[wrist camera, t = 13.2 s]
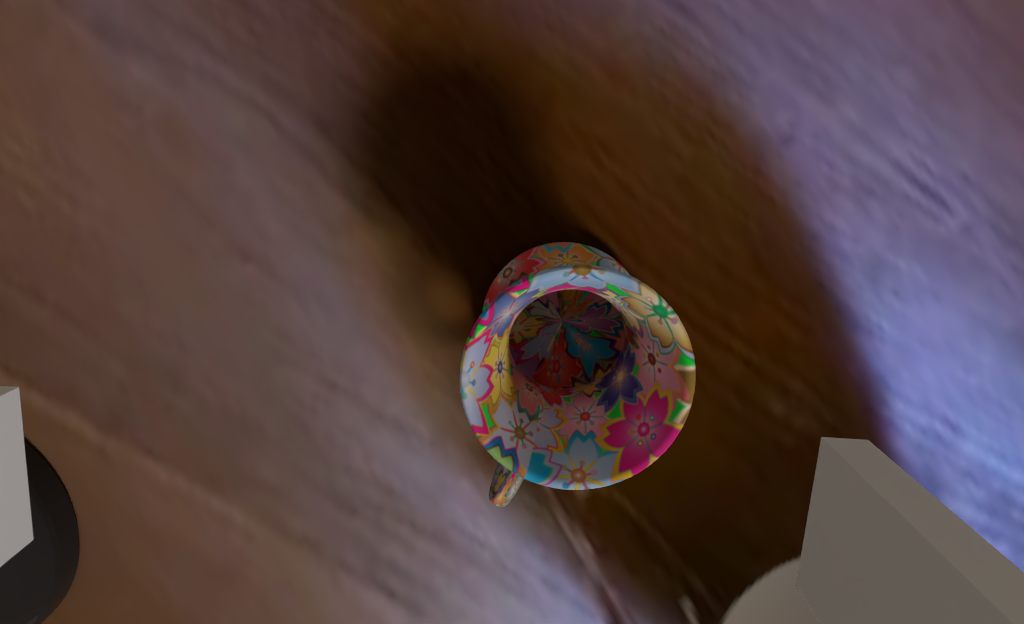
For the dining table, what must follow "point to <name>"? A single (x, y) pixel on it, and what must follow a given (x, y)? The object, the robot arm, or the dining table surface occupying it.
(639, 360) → the mug
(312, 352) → the dining table surface
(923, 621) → the robot arm
